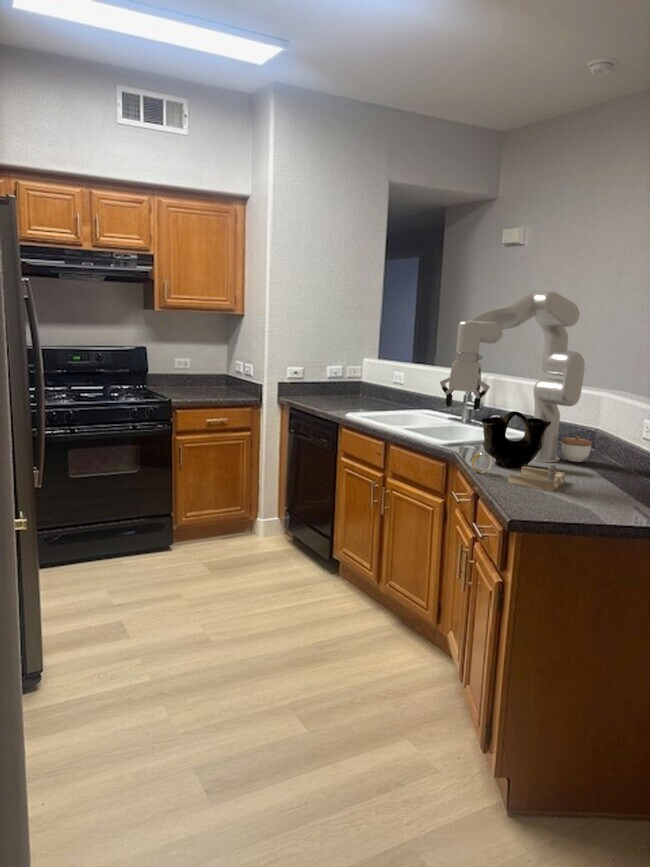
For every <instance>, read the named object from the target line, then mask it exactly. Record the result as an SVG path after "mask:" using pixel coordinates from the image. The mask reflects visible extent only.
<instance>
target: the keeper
mask: <svg viewBox="0 0 650 867" xmlns="http://www.w3.org/2000/svg"><path fill="white" fill-rule="evenodd" d="M556 467H557V466H556V465H553V464H550V465H548V469H541V468H535V467H530V466H525V465H523V466H521V467H520V468H521V470H520V475H519V474H513V473H510V474H508V480H507V481H508V482H507V483H508V484H511V485H516V486H521V487H527V488H534V489H537V490H544V491H548V492H554V489H555V490H556V489H557V488H559V487H560V486H562V484H564V483H565V477H566V473H565V472H560V471H556V470H557V469H556ZM563 482H564V483H563ZM559 485H560V486H559Z"/></svg>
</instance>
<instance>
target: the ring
mask: <svg viewBox="0 0 650 867" xmlns="http://www.w3.org/2000/svg"><path fill="white" fill-rule="evenodd" d="M482 456H485V457H486V458H487V459H488V466H487V467H486V469H480V470H478V469H477V468H475V461H476V460H477V459H478V458H480V457H482ZM470 462H471V468H472V469H473V470H474V471H475V472H476V473H478V474H479V473H480V474H484V473H487V472H489V471H490V469H491V467H492V465H493V458H492V456H491V455H489V454H488V453H487V451H486V452H485V450H483V449H482V450H479V451H477V452H476V453H475V454H473V456H472V459H471V461H470Z"/></svg>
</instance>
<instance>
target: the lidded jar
mask: <svg viewBox="0 0 650 867" xmlns="http://www.w3.org/2000/svg"><path fill="white" fill-rule="evenodd" d="M561 442H562V443H561V452H562V454H563V456H564V457H565V459H566V460H567V461H570V462H576V463H581V462H584V461H585V460H586V459H587V458H588V457H589V455H590V453H591V450H592V444H593V442H592V441H591V440H589V439H585V438H580V436H578V435H576V436H575V437H564V438H562V440H561Z"/></svg>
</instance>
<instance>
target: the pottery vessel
mask: <svg viewBox="0 0 650 867" xmlns="http://www.w3.org/2000/svg"><path fill="white" fill-rule="evenodd" d="M515 416H517V417H518V418H520V419H521V421H522V423H523V425H524V428H525V429H524V436H523V438H522V439H519V440H511V439H509V438H507V435H506V433H507V429H508V426H509V423H510V421H511V420H512V419H513V417H515ZM480 420H481V423H482V429H483V430H482V432H483V436H484V437H483V438H484V441H483V449H484V450H483V451H485V452H486V451H487V453H486V454H488V455H490V456H491V458H492V459H495V461H494V464H496V465H498V464H501V465H500V466H503V467H505V468H518V467H520V466H522V465H523V466H528V465H529V464H530V463H531V461H533V459H534V458H535V457H536V455H537V454H538V452H539V451H540V449H541V447H542V437H543V434H544V432H545V430H546V429H547V427H548V426H549V425H550V424H551V422H548V421H547V422H546V421H544V420H542V419H537V418H534V417H533V418H526V416H525V415H523V413H521V412H519V411H511V412H509V413H506V415H504V416H503V417H500V416H499V417H496V416H493V417H484V418H482V419H480Z"/></svg>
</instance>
